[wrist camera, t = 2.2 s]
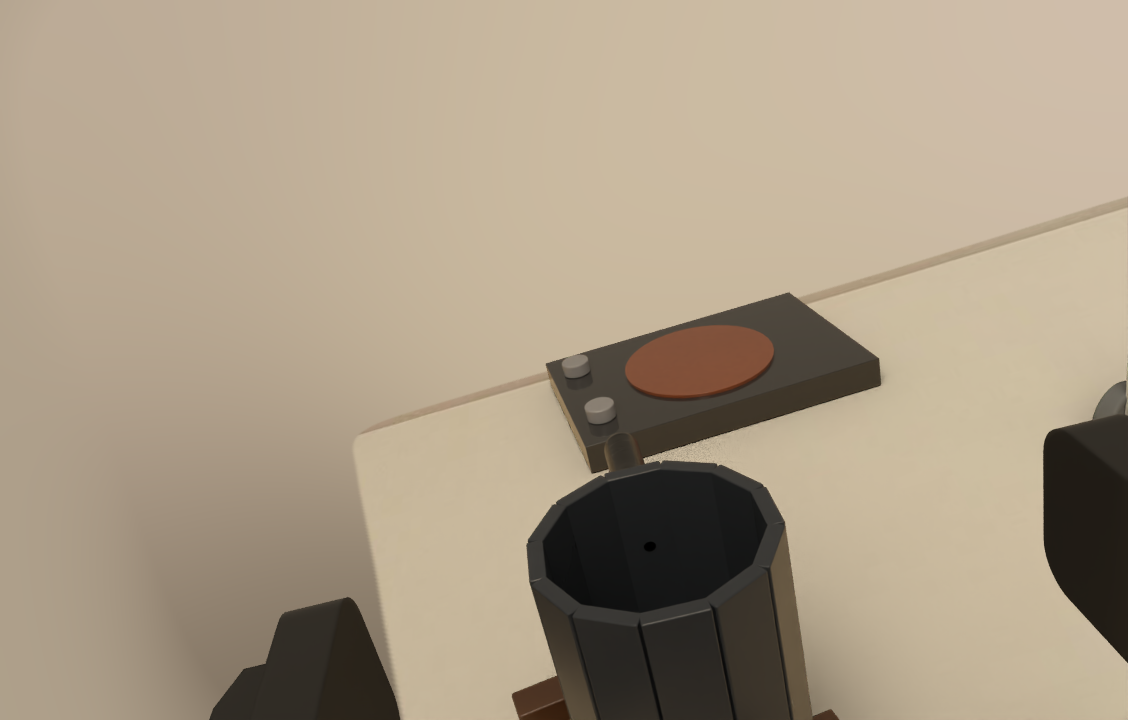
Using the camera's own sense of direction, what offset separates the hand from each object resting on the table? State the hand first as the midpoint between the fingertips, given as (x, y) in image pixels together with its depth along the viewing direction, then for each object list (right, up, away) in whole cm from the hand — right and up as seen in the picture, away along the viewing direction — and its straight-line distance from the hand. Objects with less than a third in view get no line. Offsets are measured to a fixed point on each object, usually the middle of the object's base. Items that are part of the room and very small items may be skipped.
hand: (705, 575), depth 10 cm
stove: (+6, +1, +41) cm, 42 cm away
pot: (+2, -9, +18) cm, 20 cm away
